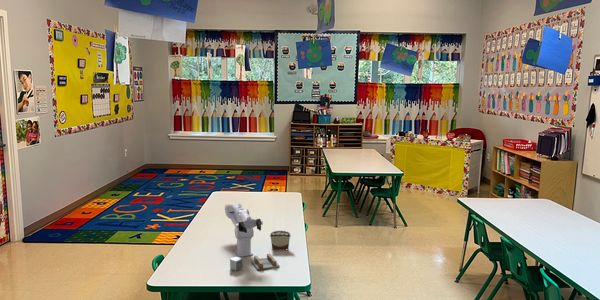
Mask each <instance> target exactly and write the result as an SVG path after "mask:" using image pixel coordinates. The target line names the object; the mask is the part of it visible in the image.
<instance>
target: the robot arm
mask: <svg viewBox="0 0 600 300" xmlns="http://www.w3.org/2000/svg"><path fill="white" fill-rule="evenodd" d="M224 211H225V216H226V217H227V218H228V219H230V221H231V223H232V224H233V226H234V236H235V239H236V249H235V250H234V251H235V253H236V254H237V255H238V257H239V258H242V257H247V256H254V253H253V252H252V250H251V247H252V244H251V243H252V238H253V237H254V235H255V233H254V232H255V231H254V228H256V230H258V231H259V232H260V231H261V230H262V226H263V224H264V223H263V220H262V219H261V218H256V219H255V218H252V217H251V216H250V212H249V209H245V208H244V207H243V206H242V204H241V203H240V202H239V203H231V204H225V205H224Z"/></svg>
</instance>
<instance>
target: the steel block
mask: <svg viewBox="0 0 600 300" xmlns="http://www.w3.org/2000/svg"><path fill="white" fill-rule="evenodd" d="M229 265H230V266H229V268H230V271H233V272H235V273H238V272H239V271H242V270H243V258H242V257H239V256H234V257H231V258H229Z"/></svg>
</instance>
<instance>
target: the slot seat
mask: <svg viewBox="0 0 600 300" xmlns="http://www.w3.org/2000/svg"><path fill="white" fill-rule="evenodd" d="M250 262H251V264H252V265H253V266H254V268H255V269H256V270H257V271H258V272H260V271H266V270H271V269H272V268H273V269H277V267H279V268H280V265H279V263H277V260H276V258H274V257H273V255H272V254H270V253H267V254H266V258H264V257H263V258H259V257H258V256H257V255H253V259H252V260H251V261H250Z"/></svg>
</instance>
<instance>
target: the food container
mask: <svg viewBox="0 0 600 300" xmlns="http://www.w3.org/2000/svg"><path fill="white" fill-rule="evenodd" d="M291 236H292V235H291V233H290V231H286V230H274V231H272V232H270V234H269V237H270V241H271V242H270V243H271V250H272V251H287V250H286V249H288V250H289V246H290V238H291Z"/></svg>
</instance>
